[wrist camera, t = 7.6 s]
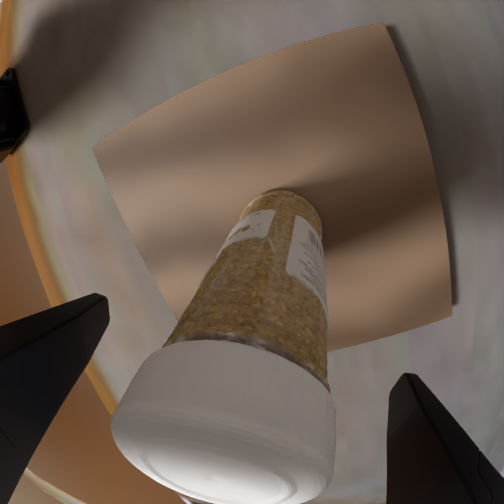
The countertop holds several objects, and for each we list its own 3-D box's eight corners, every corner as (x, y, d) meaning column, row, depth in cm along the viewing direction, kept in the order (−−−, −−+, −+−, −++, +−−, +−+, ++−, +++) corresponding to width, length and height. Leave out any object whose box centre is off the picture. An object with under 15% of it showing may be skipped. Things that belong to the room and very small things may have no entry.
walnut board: (100, 145, 17) (91, 147, 16) (379, 27, 12) (383, 22, 11) (213, 363, 23) (209, 372, 22) (447, 307, 18) (452, 315, 17)
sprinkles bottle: (239, 186, 16) (68, 382, 4) (327, 192, 15) (367, 440, 3) (239, 264, 18) (137, 487, 6) (318, 271, 17) (311, 521, 5)
